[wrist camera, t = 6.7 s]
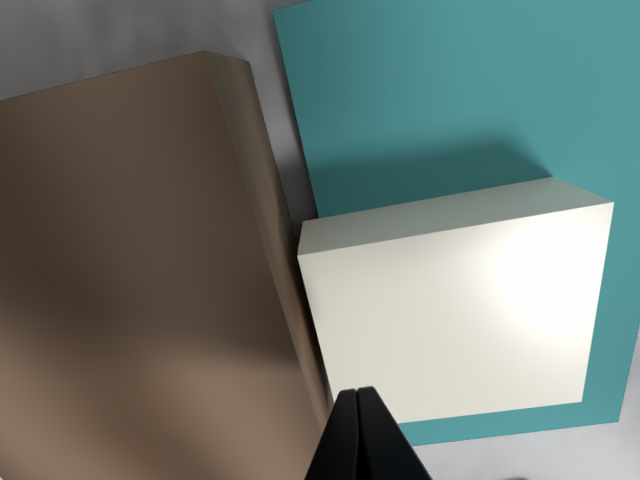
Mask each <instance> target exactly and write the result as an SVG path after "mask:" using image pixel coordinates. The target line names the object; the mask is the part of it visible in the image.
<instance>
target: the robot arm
mask: <svg viewBox="0 0 640 480" xmlns="http://www.w3.org/2000/svg"><path fill="white" fill-rule="evenodd" d="M304 480H433V479H432V478H431V476H430V475H429V473H428V471H427V470H426V468H425V467H424V465H423V464H422V462H421V460H420V459H419V457H418V456H417V454H416V452H415V451H414V449H413V448H412V446H411V444H410V443H409V441H408V440H407V438H406V436H405V435H404V433H403V432H402V430H401V428H400V427H399V425H398V424H397V422H396V421H395V419H394V417H393V416H392V414H391V413H390V411H389V409H388V408H387V406H386V405H385V403H384V401H383V400H382V398H381V397H380V395H379V393H378V392H377V390H376V389H375V387H373V386H366V387H360V388H358V389H357V390H356V389H355V388H352V389H344V390H341V391H340V392H339V393H338V396H337V398H336V401H335V403H334V406H333V408H332V411H331V413H330V416H329V418H328V421H327V423H326V426H325V428H324V431H323V433H322V436H321V438H320V441H319V443H318V446H317V448H316V451H315V453H314V456H313V458H312V461H311V463H310V466H309V468H308V471H307V473H306V476H305V478H304Z"/></svg>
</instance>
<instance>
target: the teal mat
mask: <svg viewBox="0 0 640 480" xmlns="http://www.w3.org/2000/svg"><path fill="white" fill-rule="evenodd" d="M272 12H273V16H274V21H275V25H276V30H277V34H278V38H279V43H280V47H281V52H282V56H283V61H284V65H285V70H286V74H287V79H288V83H289V87H290V92H291V96H292V101H293V105H294V110H295V114H296V119H297V123H298V128H299V132H300V136H301V141H302V145H303V150H304V154H305V159H306V163H307V168H308V172H309V177H310V181H311V186H312V190H313V194H314V199H315V203H316V208H317V212H318V217H319V218H324V217H330V216H335V215H341V214H347V213H352V212H358V211H363V210H369V209H375V208H380V207H386V206H391V205H397V204H403V203H408V202H414V201H419V200H425V199H430V198H436V197H442V196H447V195H453V194H458V193H464V192H470V191H475V190H481V189H486V188H492V187H498V186H503V185H509V184H514V183H520V182H526V181H531V180H537V179H542V178H548V177H553V176H554V177H556V178H558V179H561V180H563V181H565V182H568V183H570V184H573V185H575V186H577V187H580V188H582V189H584V190H587V191H589V192H592V193H594V194H596V195H599V196H601V197H603V198H606V199H608V200H611V201H613V202H614V207H613V213H612V219H611V225H610V231H609V237H608V243H607V250H606V256H605V262H604V268H603V274H602V280H601V286H600V292H599V298H598V304H597V311H596V317H595V323H594V329H593V335H592V341H591V347H590V353H589V359H588V366H587V372H586V378H585V384H584V390H583V396H582V402H575V403H567V404H558V405H550V406H541V407H533V408H525V409H516V410H508V411H499V412H491V413H482V414H474V415H465V416H457V417H448V418H440V419H432V420H423V421H415V422H406V423H398V425H399V427H400V428H401V430H402V432H403V433H404V435H405V436H406V438H407V440H408V441H409V443H410V444H411V446H419V445H427V444H436V443H444V442H453V441H461V440H469V439H478V438H486V437H495V436H503V435H512V434H520V433H528V432H537V431H545V430H554V429H562V428H571V427H579V426H588V425H596V424H604V423H613V422H618V421H619V416H620V412H621V407H622V402H623V398H624V393H625V389H626V384H627V379H628V375H629V370H630V366H631V361H632V356H633V352H634V347H635V342H636V338H637V333H638V329H639V324H640V0H311V1H307V2H303V3H299V4H295V5H291V6H287V7H283V8H280V9H276V10H272Z"/></svg>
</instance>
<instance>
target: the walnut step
mask: <svg viewBox="0 0 640 480" xmlns="http://www.w3.org/2000/svg"><path fill="white" fill-rule="evenodd" d="M297 254H298V247H297V244H296V240H295V236H294V232H293V228H292V224H291V221H290V217H289V213H288V209H287V205H286V201H285V198H284V194H283V190H282V186H281V182H280V179H279V175H278V171H277V167H276V163H275V159H274V156H273V152H272V148H271V144H270V140H269V136H268V133H267V129H266V125H265V121H264V117H263V114H262V110H261V106H260V102H259V98H258V94H257V91H256V87H255V83H254V79H253V75H252V71H251V68H250V64H249V62H248V61H244V60H240V59H236V58H232V57H228V56H224V55H220V54H216V53H212V52H208V51H200V52H196V53H192V54H188V55H184V56H180V57H175V58H171V59H167V60H163V61H159V62H155V63H151V64H147V65H143V66H139V67H135V68H131V69H127V70H123V71H119V72H115V73H111V74H107V75H103V76H99V77H95V78H91V79H86V80H82V81H78V82H74V83H70V84H66V85H62V86H58V87H54V88H50V89H46V90H42V91H38V92H34V93H30V94H26V95H22V96H18V97H14V98H10V99H6V100H1V101H0V477H1V478H2V479H3V480H304V478H305V476H306V473H307V471H308V468H309V466H310V463H311V461H312V458H313V456H314V453H315V451H316V448H317V446H318V443H319V441H320V438H321V436H322V433H323V431H324V428H325V426H326V423H327V421H328V418H329V416H330V413H331V411H332V408H333V406H334V400H333V396H332V392H331V388H330V384H329V380H328V376H327V372H326V368H325V364H324V360H323V356H322V352H321V348H320V344H319V340H318V336H317V332H316V328H315V324H314V320H313V316H312V312H311V309H310V305H309V301H308V297H307V293H306V289H305V285H304V281H303V277H302V273H301V269H300V265H299V261H298V257H297Z"/></svg>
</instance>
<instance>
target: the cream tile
mask: <svg viewBox="0 0 640 480" xmlns="http://www.w3.org/2000/svg"><path fill="white" fill-rule="evenodd" d="M613 207H614V202H613V201H611V200H608V199H606V198H603V197H601V196H599V195H596V194H594V193H592V192H589V191H587V190H584V189H582V188H580V187H577V186H575V185H573V184H570V183H568V182H565V181H563V180H561V179H558V178H556V177H554V176H553V177H548V178H542V179H537V180H531V181H526V182H520V183H514V184H509V185H503V186H498V187H492V188H486V189H481V190H475V191H470V192H464V193H458V194H453V195H447V196H442V197H436V198H430V199H425V200H419V201H414V202H408V203H403V204H397V205H391V206H386V207H380V208H375V209H369V210H363V211H358V212H352V213H347V214H341V215H335V216H330V217H324V218H319V219H313V220H307V221H303V224H302V230H301V236H300V242H299V248H298V254H297V257H298V261H299V265H300V269H301V273H302V277H303V281H304V285H305V289H306V293H307V297H308V301H309V305H310V309H311V312H312V316H313V320H314V324H315V328H316V332H317V336H318V340H319V344H320V348H321V352H322V356H323V360H324V364H325V368H326V372H327V376H328V380H329V384H330V388H331V392H332V396H333V400H334V403H335V401H336V398H337V396H338V393H339V392H340V391H341V390H344V389H352V388H355V389H356V390H357V389H358V388H360V387H366V386H373V387H375V389H376V390H377V392H378V393H379V395H380V397H381V398H382V400H383V401H384V403H385V405H386V406H387V408H388V409H389V411H390V413H391V414H392V416H393V417H394V419H395V421H396V422H397V424H398V423H406V422H415V421H423V420H432V419H440V418H448V417H457V416H465V415H474V414H482V413H491V412H499V411H508V410H516V409H525V408H533V407H541V406H550V405H558V404H567V403H575V402H582V396H583V390H584V384H585V378H586V372H587V366H588V359H589V353H590V347H591V341H592V335H593V329H594V323H595V317H596V311H597V304H598V298H599V292H600V286H601V280H602V274H603V268H604V262H605V256H606V250H607V243H608V237H609V231H610V225H611V219H612V213H613Z"/></svg>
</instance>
